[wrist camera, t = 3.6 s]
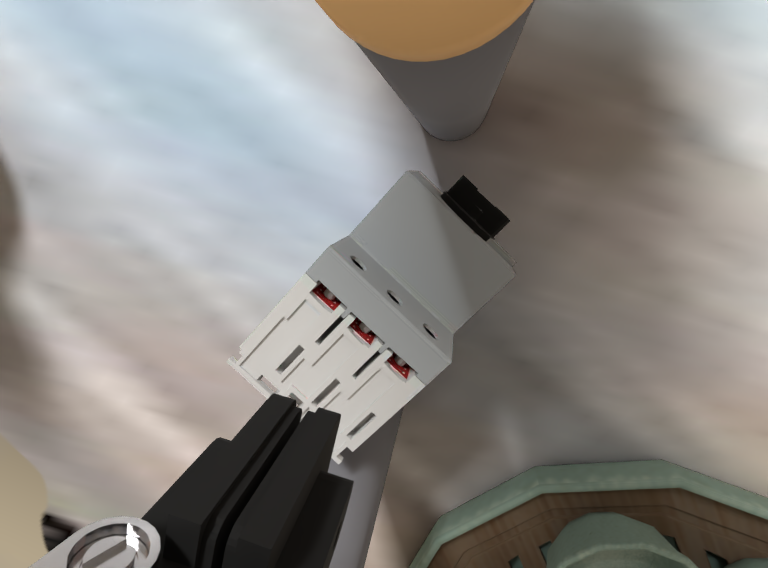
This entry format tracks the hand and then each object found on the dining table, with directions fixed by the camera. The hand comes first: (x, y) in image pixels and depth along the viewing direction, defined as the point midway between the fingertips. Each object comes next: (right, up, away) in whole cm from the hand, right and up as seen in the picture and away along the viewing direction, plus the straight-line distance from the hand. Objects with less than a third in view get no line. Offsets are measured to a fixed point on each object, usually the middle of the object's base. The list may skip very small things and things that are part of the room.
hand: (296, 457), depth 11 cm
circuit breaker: (+4, +6, +24) cm, 25 cm away
